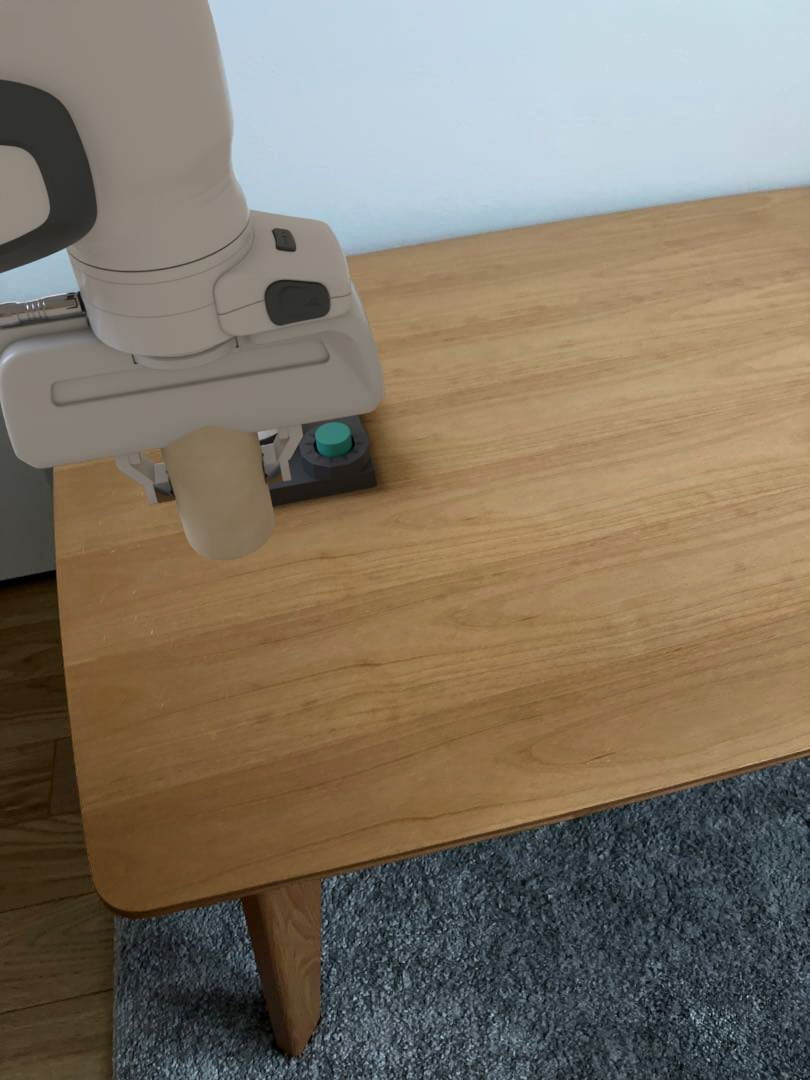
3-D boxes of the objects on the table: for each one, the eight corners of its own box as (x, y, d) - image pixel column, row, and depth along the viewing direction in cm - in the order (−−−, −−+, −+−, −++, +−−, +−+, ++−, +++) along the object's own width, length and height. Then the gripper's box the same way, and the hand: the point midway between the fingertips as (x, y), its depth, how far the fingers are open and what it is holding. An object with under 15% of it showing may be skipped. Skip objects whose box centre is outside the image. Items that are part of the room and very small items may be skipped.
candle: (168, 533, 62) (128, 403, 55) (236, 487, 65) (207, 358, 58) (225, 575, 60) (190, 444, 53) (294, 526, 62) (270, 395, 55)
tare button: (320, 461, 85) (318, 446, 84) (314, 439, 88) (312, 425, 86) (354, 454, 86) (353, 440, 85) (348, 433, 88) (347, 419, 87)
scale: (193, 524, 85) (184, 493, 83) (183, 421, 95) (175, 392, 93) (378, 489, 87) (375, 458, 85) (349, 392, 97) (345, 362, 95)
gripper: (-51, 347, 47) (40, 554, 56) (381, 279, 49) (397, 490, 59) (-38, 278, 51) (45, 482, 61) (358, 219, 53) (377, 425, 63)
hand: (221, 485), depth 60 cm, fingers closed on candle, 5 cm apart
